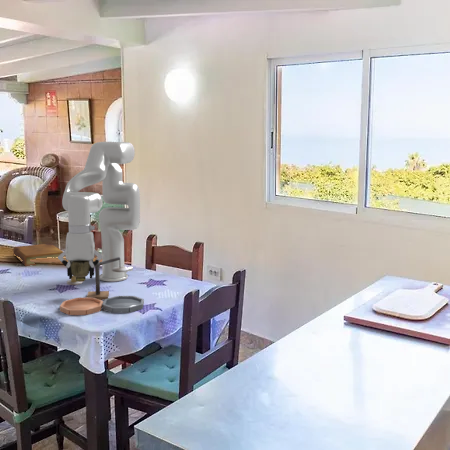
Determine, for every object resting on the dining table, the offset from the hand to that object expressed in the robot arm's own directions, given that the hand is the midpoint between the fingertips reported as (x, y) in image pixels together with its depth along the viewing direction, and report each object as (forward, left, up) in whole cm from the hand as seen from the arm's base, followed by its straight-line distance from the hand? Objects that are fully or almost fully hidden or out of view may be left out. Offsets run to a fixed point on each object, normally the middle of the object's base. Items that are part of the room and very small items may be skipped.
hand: (81, 277), depth 194 cm
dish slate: (-12, +9, -12) cm, 19 cm away
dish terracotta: (0, 0, -12) cm, 12 cm away
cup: (0, 0, -2) cm, 2 cm away
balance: (-12, -7, -12) cm, 18 cm away
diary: (-28, -80, -12) cm, 86 cm away
